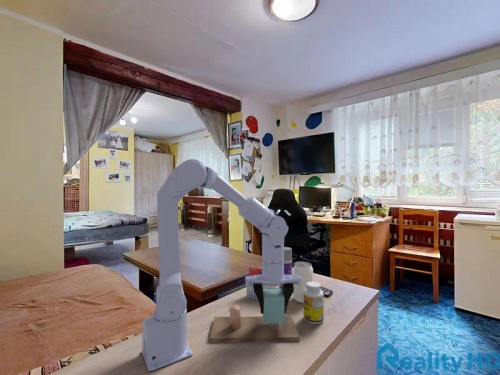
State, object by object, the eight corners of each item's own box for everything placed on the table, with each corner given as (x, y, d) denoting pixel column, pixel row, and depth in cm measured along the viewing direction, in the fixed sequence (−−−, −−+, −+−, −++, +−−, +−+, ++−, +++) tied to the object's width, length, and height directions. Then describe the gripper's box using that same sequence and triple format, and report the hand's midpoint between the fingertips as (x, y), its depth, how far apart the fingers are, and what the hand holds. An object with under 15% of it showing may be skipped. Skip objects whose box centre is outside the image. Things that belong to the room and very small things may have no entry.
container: (291, 291, 90) (291, 250, 90) (278, 290, 91) (278, 249, 91) (292, 286, 95) (292, 247, 95) (279, 285, 96) (279, 246, 96)
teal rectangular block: (263, 323, 64) (263, 297, 64) (262, 313, 69) (262, 289, 69) (284, 323, 64) (284, 297, 64) (281, 312, 69) (281, 288, 69)
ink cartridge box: (277, 303, 82) (277, 273, 82) (246, 297, 86) (246, 269, 86) (279, 300, 84) (279, 271, 84) (248, 294, 88) (248, 267, 88)
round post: (233, 330, 64) (233, 311, 64) (228, 325, 66) (228, 306, 66) (242, 327, 66) (242, 308, 66) (237, 322, 68) (237, 304, 68)
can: (315, 298, 85) (315, 262, 85) (309, 305, 80) (309, 268, 80) (297, 293, 89) (297, 260, 89) (290, 300, 83) (290, 264, 83)
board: (209, 342, 61) (209, 338, 61) (214, 320, 71) (214, 317, 71) (299, 341, 61) (299, 337, 61) (292, 319, 71) (292, 316, 71)
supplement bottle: (301, 315, 74) (301, 280, 74) (320, 314, 74) (320, 280, 74) (306, 325, 68) (306, 288, 68) (326, 325, 69) (326, 287, 69)
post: (268, 329, 65) (268, 309, 65) (267, 323, 67) (267, 305, 67) (278, 328, 65) (278, 309, 65) (277, 323, 68) (277, 304, 68)
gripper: (297, 256, 70) (297, 304, 70) (245, 256, 70) (245, 305, 70) (302, 263, 63) (303, 317, 63) (245, 264, 63) (245, 318, 63)
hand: (273, 311), depth 66 cm, fingers closed on teal rectangular block, 5 cm apart
